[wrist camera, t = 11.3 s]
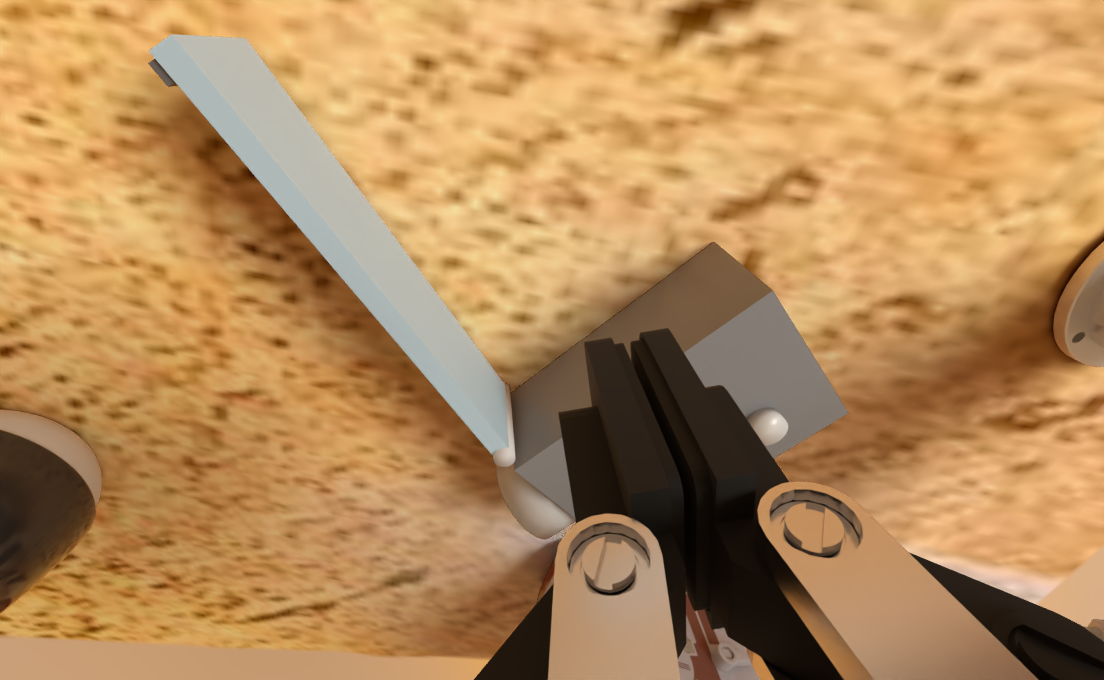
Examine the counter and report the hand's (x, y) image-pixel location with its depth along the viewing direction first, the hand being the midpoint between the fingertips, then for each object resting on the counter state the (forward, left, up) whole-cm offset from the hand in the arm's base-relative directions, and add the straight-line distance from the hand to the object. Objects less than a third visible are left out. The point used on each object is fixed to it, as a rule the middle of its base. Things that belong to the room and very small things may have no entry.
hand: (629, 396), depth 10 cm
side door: (+8, -2, -19) cm, 21 cm away
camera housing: (+4, +14, -19) cm, 24 cm away
